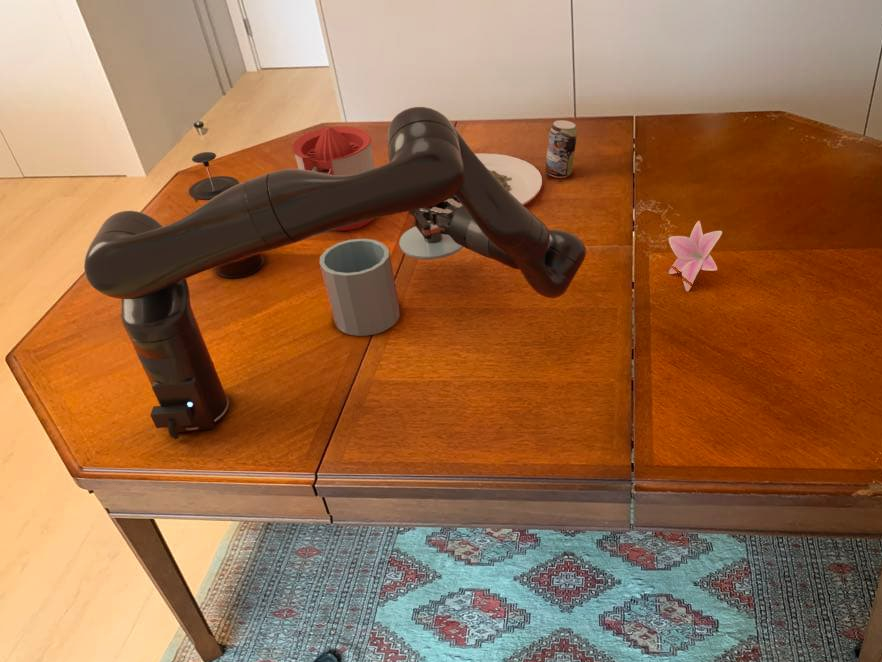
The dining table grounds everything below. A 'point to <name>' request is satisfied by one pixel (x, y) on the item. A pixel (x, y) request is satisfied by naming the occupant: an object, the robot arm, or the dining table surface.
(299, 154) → the citrus juicer
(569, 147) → the beverage can
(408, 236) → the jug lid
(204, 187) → the french press
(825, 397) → the dining table surface
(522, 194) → the plated food
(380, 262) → the grey cup
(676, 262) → the lily
